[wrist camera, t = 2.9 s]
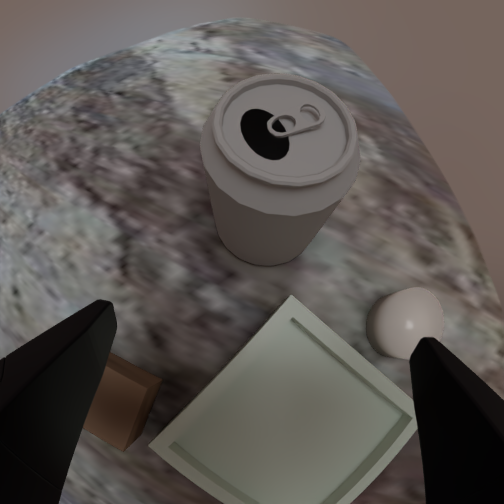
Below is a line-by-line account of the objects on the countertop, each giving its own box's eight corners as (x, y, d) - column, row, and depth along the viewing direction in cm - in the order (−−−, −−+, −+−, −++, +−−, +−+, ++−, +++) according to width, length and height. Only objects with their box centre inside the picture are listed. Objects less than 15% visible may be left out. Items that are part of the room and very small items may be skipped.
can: (201, 195, 24) (174, 85, 12) (287, 164, 25) (318, 52, 13) (238, 284, 22) (237, 229, 10) (330, 245, 23) (405, 166, 11)
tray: (295, 528, 17) (300, 544, 14) (156, 434, 19) (147, 445, 16) (412, 407, 20) (428, 413, 17) (285, 298, 22) (291, 294, 19)
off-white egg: (396, 369, 21) (419, 373, 17) (353, 331, 21) (372, 330, 18) (429, 319, 22) (454, 316, 18) (389, 281, 23) (411, 272, 19)
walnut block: (141, 434, 19) (123, 451, 15) (86, 402, 19) (60, 412, 15) (163, 379, 20) (147, 388, 16) (105, 348, 20) (80, 350, 17)
